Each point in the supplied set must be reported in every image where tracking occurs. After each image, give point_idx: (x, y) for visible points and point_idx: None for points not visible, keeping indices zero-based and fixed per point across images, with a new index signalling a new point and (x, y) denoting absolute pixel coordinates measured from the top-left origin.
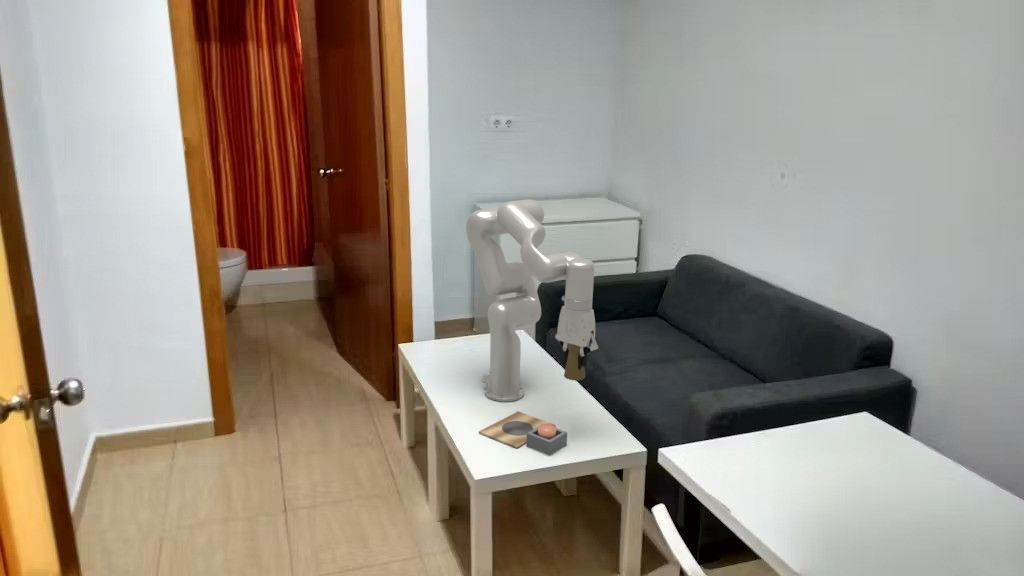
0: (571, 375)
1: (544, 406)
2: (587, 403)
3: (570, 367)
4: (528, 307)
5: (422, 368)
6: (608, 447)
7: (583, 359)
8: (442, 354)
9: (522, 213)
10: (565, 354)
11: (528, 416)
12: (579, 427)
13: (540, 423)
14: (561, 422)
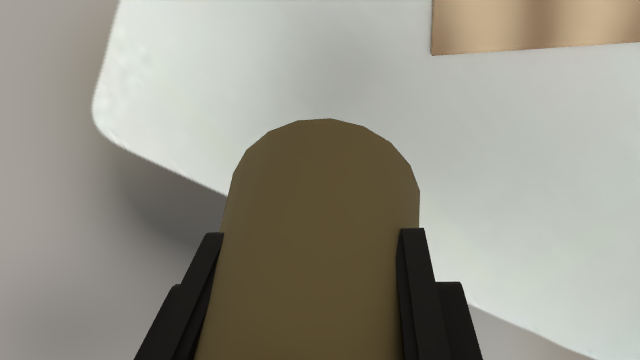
0: (285, 149)
1: (578, 169)
2: None
3: (296, 196)
4: None
5: None
6: (159, 68)
7: (140, 351)
8: None
9: None
10: (432, 333)
11: (591, 33)
12: (351, 122)
13: (499, 17)
14: (435, 106)
